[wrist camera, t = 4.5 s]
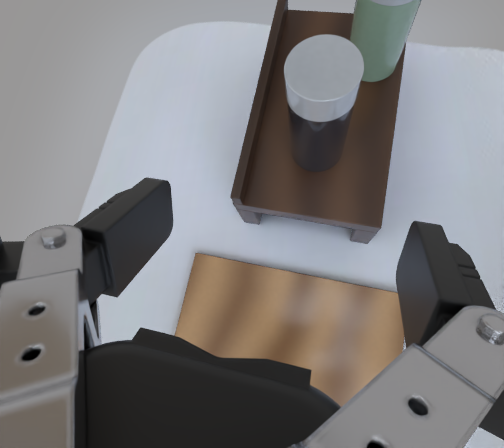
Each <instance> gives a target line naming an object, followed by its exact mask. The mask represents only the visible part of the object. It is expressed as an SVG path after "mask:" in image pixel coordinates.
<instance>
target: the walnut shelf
mask: <svg viewBox="0 0 504 448" xmlns="http://www.w3.org/2000/svg"><path fill="white" fill-rule="evenodd" d="M353 15H354V14H351V13H333V12H318V11H300V10H288V0H278V2H277V6H276V10H275V14H274V18H273V22H272V26H271V30H270V34H269V39H268V43H267V47H266V51H265V55H264V59H263V64H262V68H261V72H260V76H259V80H258V84H257V88H256V93H255V97H254V101H253V105H252V109H251V113H250V118H249V122H248V126H247V130H246V134H245V138H244V143H243V147H242V151H241V155H240V159H239V163H238V167H237V172H236V176H235V180H234V184H233V188H232V192H231V199H232V201H233V204H234V206H235V207H236V209H237V211H238V212H239V214H240V216H241V217H242V219H243V221H244V222H247V223H253V224H258V225H259V224H260V220H261V216H262V213H263V214H269V215H275V216H281V217H287V218H293V219H299V220H305V221H311V222H316V223H322V224H328V225H334V226H340V227H346V228H352V232H351V239H350V241H355V242H360V243H366V244H368V242H369V241H370V240H371V239H372V238H373V237H374V236H375V234H376V233H377V232H378V231H379V230H380V229H381V226H382V218H383V211H384V203H385V196H386V189H387V181H388V174H389V166H390V159H391V151H392V144H393V136H394V129H395V122H396V114H397V107H398V99H399V92H400V84H401V77H402V69H403V62H404V54H405V47H406V43H405V45H404V48H403V51H402V53H401V56H400V59H399V61H398V64H397V67H396V69H395V70H394V72H393V73H392V74H391V75H390V76H388V77H387V78H385V79H383V80H380V81H376V82H366V81H361V85H360V89H359V93H358V97H357V100H356V102H355V106H354V110H353V114H352V118H351V122H350V126H349V130H348V134H347V138H346V142H345V146H344V150H343V154H342V157H341V159H340V160H339V162H338V163H337V164H336V165H335V166H333V167H332V168H330V169H328V170H325V171H321V172H312V171H308V170H305V169H303V168H301V167H300V166H299V165H297V164H296V162H295V161H294V160H293V158H292V155H291V150H290V137H289V123H288V109H287V99H286V92H285V79H284V65H285V61H286V59H287V57H288V55H289V53H290V52H291V50H292V49H293V48H294V47H295V46H296V45H297V44H299V43H300V42H302V41H303V40H305V39H307V38H310V37H313V36H317V35H324V34H330V35H336V36H340V37H343V38H345V39H347V40H349V38H350V32H351V27H352V21H353Z"/></svg>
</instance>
